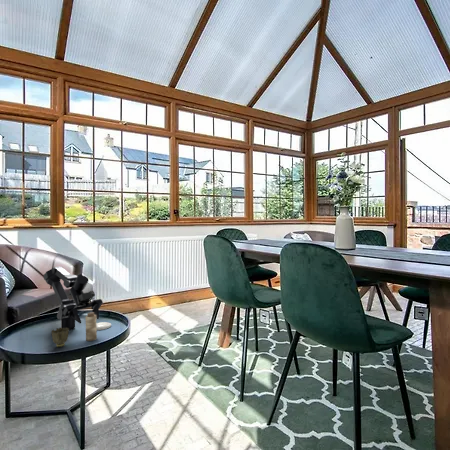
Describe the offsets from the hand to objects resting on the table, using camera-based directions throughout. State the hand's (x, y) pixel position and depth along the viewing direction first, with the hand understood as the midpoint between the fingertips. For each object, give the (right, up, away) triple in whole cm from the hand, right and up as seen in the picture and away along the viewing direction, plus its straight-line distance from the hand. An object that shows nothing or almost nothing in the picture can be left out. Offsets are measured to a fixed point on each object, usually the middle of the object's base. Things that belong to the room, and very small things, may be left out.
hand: (89, 320), depth 166 cm
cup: (-10, -9, -10) cm, 17 cm away
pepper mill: (+1, -9, -1) cm, 9 cm away
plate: (-2, -9, +19) cm, 21 cm away
